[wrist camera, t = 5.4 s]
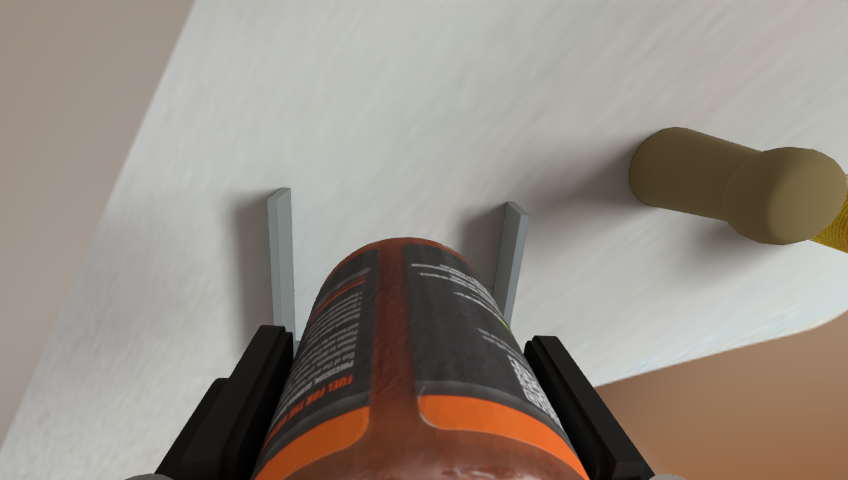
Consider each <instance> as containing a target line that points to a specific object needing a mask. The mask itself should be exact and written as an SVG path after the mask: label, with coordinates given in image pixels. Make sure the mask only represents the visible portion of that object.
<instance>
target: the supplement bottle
mask: <svg viewBox="0 0 848 480" xmlns="http://www.w3.org/2000/svg"><path fill="white" fill-rule="evenodd" d="M249 480H589V478H588V476H587V474H586V472H585V470H584V468H583V466H582V464H581V462H580V461H579V459H578V456H577V453H576V452H575V451H574V449H573V447H572V445H571V443H570V441H569V439H568V436H567V435H566V433H565V432H564V430H563V428H562V426H561V423H560V421H559V419H558V417H557V415H556V413H555V412H554V410H553V408H552V406H551V405H550V403H549V401H548V399H547V397H546V395H545V393H544V392H543V390H542V389H541V387H540V384H539V382H538V380H537V379H536V377H535V375H534V373H533V371H532V369H531V367H530V366H529V363H528V361H527V360H526V358H525V357H524V355H523V353H522V351H521V349H520V347H519V345H518V344H517V342H516V340H515V338H514V336H513V334H512V332H511V330H510V328H509V326H508V324H507V322H506V321H505V319H504V317H503V315H502V314H501V312H500V310H499V308H498V306H497V304H496V302H495V301H494V299H493V297H492V294H491V292H490V291H489V289H488V287H487V286H486V284H485V283H484V281H483V280H482V278H481V277H480V275H479V274H478V273H477V271H476V270H475V268H474V267H473V266H472V265H471V264H470V263H469V262H468V261H467V260H466V259H465V258H464V257H462V256H461V255H460V254H458V253H456V252H455V251H454V250H452V249H451V248H449V247H446V246H444V245H442V244H440V243H437V242H435V241H431V240H426V239H421V238H412V237H405V238H391V239H385V240H381V241H377V242H374V243H370V244H368V245H366V246H364V247H362V248H360V249H358V250H356V251H355V252H353V253H352V254H350V255H349V256H347V257H346V258H345V259H344V260H342V261H341V262H340V263H339V264H338V265H337V266H336V267H335V268H334V269H333V271H332V272H331V273H330V275H329V276H328V277H327V279H326V280H325V282H324V284H323V285H322V287H321V289H320V292H319V294H318V296H317V298H316V300H315V302H314V305H313V307H312V310H311V313H310V316H309V319H308V321H307V324H306V328H305V330H304V333H303V336H302V338H301V341H300V343H299V346H298V349H297V352H296V355H295V357H294V360H293V362H292V365H291V368H290V371H289V374H288V377H287V379H286V381H285V385H284V387H283V391H282V394H281V397H280V399H279V402H278V404H277V407H276V410H275V412H274V415H273V418H272V420H271V423H270V426H269V428H268V431H267V434H266V437H265V440H264V442H263V445H262V447H261V450H260V452H259V455H258V458H257V461H256V464H255V467H254V470H253V473H252V475H251V477H250V479H249Z"/></svg>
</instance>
